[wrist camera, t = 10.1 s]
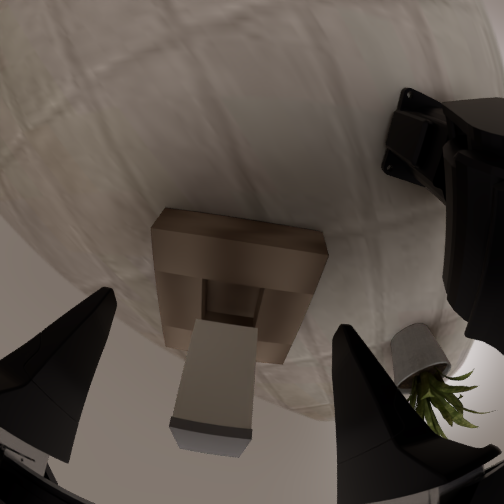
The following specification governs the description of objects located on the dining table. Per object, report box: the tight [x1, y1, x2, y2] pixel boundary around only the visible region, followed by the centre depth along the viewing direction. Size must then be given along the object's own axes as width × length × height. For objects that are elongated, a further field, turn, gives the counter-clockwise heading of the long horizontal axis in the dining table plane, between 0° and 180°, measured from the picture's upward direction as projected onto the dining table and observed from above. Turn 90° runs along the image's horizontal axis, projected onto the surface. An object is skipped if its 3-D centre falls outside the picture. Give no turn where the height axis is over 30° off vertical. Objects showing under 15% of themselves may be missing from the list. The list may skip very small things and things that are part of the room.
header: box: [151, 208, 329, 365], centre depth 23 cm, size 12×14×3 cm
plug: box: [169, 319, 258, 458], centre depth 16 cm, size 4×6×7 cm
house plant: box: [391, 324, 484, 439], centre depth 22 cm, size 14×14×16 cm
